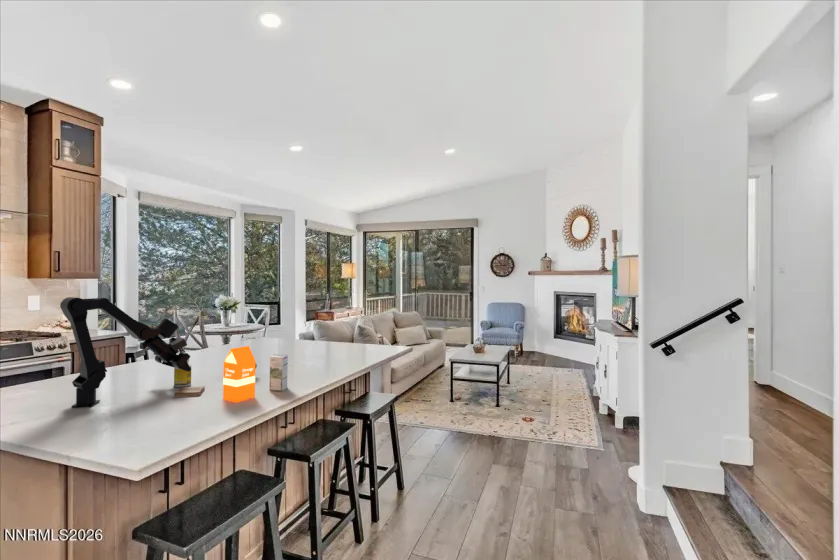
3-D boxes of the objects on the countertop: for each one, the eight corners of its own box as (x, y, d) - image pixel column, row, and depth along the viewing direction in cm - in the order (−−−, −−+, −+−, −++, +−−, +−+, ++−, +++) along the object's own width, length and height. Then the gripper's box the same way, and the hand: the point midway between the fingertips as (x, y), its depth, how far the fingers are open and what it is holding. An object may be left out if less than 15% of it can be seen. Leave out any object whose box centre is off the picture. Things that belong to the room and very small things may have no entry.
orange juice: (222, 399, 166) (223, 347, 166) (241, 394, 174) (242, 344, 173) (236, 402, 162) (237, 349, 162) (255, 397, 170) (256, 346, 170)
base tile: (199, 395, 170) (199, 392, 170) (174, 397, 168) (174, 393, 168) (204, 389, 179) (204, 386, 179) (180, 391, 176) (180, 387, 176)
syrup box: (287, 387, 185) (288, 354, 185) (282, 391, 179) (282, 356, 179) (275, 387, 185) (275, 353, 185) (268, 390, 179) (269, 356, 179)
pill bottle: (185, 387, 182) (186, 360, 182) (170, 387, 182) (171, 359, 182) (194, 383, 188) (194, 357, 188) (179, 383, 188) (179, 356, 188)
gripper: (185, 334, 176) (211, 357, 186) (162, 330, 187) (187, 352, 196) (165, 356, 170) (192, 378, 179) (142, 350, 180) (169, 372, 190)
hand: (186, 369), depth 186 cm, fingers closed on pill bottle, 6 cm apart
